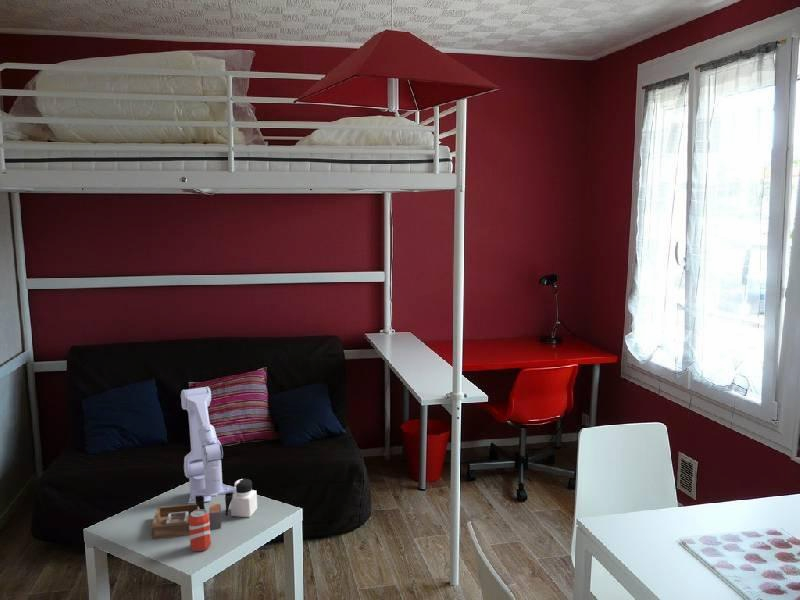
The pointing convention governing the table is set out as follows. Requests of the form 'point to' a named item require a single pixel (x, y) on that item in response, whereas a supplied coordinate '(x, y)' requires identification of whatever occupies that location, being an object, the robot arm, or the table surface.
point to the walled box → (172, 520)
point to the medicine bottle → (244, 499)
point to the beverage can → (199, 530)
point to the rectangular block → (215, 516)
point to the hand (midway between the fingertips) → (215, 515)
